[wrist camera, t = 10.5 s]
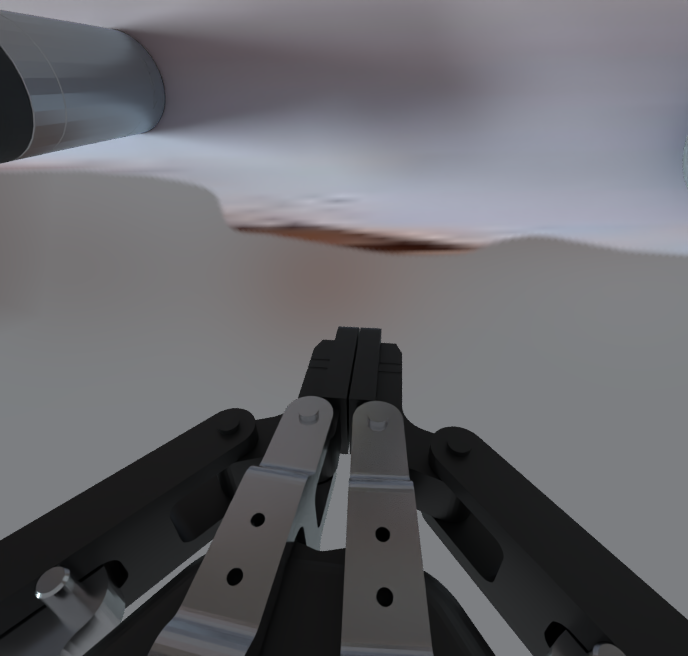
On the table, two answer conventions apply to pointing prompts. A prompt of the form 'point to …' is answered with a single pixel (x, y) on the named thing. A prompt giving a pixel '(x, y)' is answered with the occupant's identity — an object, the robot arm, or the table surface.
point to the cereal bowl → (685, 162)
